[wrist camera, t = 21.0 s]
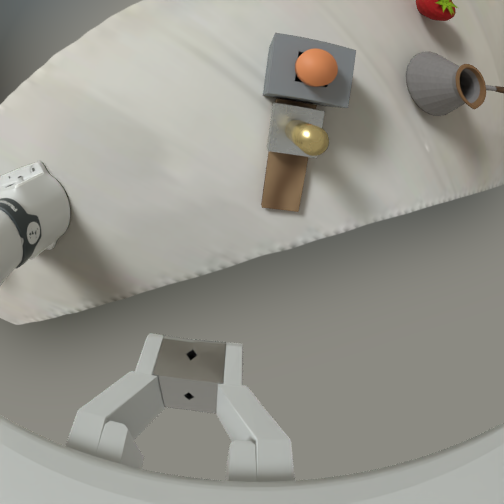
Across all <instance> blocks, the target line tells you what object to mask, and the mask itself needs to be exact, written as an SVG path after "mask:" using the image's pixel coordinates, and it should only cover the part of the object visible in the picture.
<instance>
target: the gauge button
mask: <svg viewBox="0 0 504 504" xmlns="http://www.w3.org/2000/svg"><path fill="white" fill-rule="evenodd" d="M295 72H296V75H295V81H296V82H302V83H304V84H306V85H309V86H313V87H319V86H324V85H327V84H329V83H331V82H332V81H333V80H334V79H335V78H336V76H337V72H338V66H337V62H336V60H335V59H334V57H333V56H332V55H331V54H330V53H328V52H327V51H325V50H322V49H316V48H315V49H309V50H307V51H305V52H304V53H302V54H301V55H300V56H299V57H298V58H297V60H296V63H295Z"/></svg>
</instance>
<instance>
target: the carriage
mask: <svg viewBox="0 0 504 504" xmlns="http://www.w3.org/2000/svg"><path fill="white" fill-rule="evenodd" d="M324 113H325V111H320V110H315V109H309V108H304V107H298V106H292V105H286V104H279V103H273V107H272V114H271V121H270V129H269V136H268V143H267V149H268V151H271V152H278V153H286V154H293V155H299V156H306V157H312V158H317V155H320V154H322V153H323V152H325V150H326V149H327V147H328V144H329V138H328V135H327V133H326V132H325V131H324V130H323V129H322V125H323V119H324Z"/></svg>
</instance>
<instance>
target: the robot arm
mask: <svg viewBox="0 0 504 504" xmlns="http://www.w3.org/2000/svg"><path fill="white" fill-rule="evenodd" d="M34 168H35V170H34ZM69 221H70V206H69V201H68V198H67V195H66V193H65V191H64V189H63V188H62V186H61V185H60V183H59V182H58V181H57V180H56V179H55V178H54V177H52V176H51V175H50V174H49V173H48V172H47V170H46V168H45V166H44V165H43V163H42V162H40V161H37V162H35V163H32V164H29V165H26V166H24V167H21V168H19V169H16V170H14V171H11V172H9V173H6V174H4V175H2V176H0V286H1V284H2V283H3V282H4V280H5V279H6V278H7V277H8V276H9V274H10V273H11V272H12V271H13V270H14V269H15V268H18V267H20V266H21V265H23V264H24V263H25V262H26V261H27V260H28V259H33V258H35V257H36V256H37V255H39V254H40V253H41V252H42V251H44V250H45V249H48V250H51V249H52V248H54V246H55V244H56V242H57V239H58V238H59V237H60V236H62V235H63V234H64V233H65V231H66V230H67V228H68V225H69ZM164 407H168V408H175V409H184V410H192V411H199V412H207V413H216V415H217V417H218V419H219V420H220V422H221V424H222V426H223V427H224V429H225V430H226V432H227V434H228V436H229V437H230V439H231V441H232V443H231V444H230V448H229V453H228V459H227V465H226V475H225V481H222V480H209V479H200V478H191V477H184V476H177V475H171V474H165V473H159V472H154V471H149V470H144V469H142V467H143V460H144V457H143V455H142V453H141V451H140V450H139V448H138V446H137V444H136V443H135V441H134V440H135V439H136V438H137V437H138V436H139V435H140V434H141V433H142V432H143V431H144V430H145V428H146V427H147V426H148V425H149V424H150V423H151V422H152V421H153V420H154V419H155V418H156V417H157V416H158V414H160V413H161V412H162V411H163V410H164ZM0 504H504V423H503V424H500V425H498V426H496V427H494V428H492V429H490V430H488V431H486V432H484V433H482V434H480V435H477V436H475V437H473V438H471V439H468V440H466V441H464V442H461V443H459V444H456V445H454V446H451V447H449V448H446V449H443V450H441V451H438V452H435V453H432V454H429V455H427V456H423V457H420V458H417V459H414V460H410V461H407V462H403V463H399V464H396V465H392V466H388V467H384V468H380V469H375V470H370V471H365V472H360V473H354V474H349V475H342V476H335V477H328V478H320V479H309V480H296V481H295V478H294V468H293V458H292V448H291V440H290V439H289V438H288V436H287V435H286V434H285V433H284V431H283V430H282V429H281V428H280V427H279V425H278V424H277V423H276V422H275V420H274V419H273V418H272V417H271V416H270V414H269V413H268V412H267V410H266V409H265V408H264V407H263V405H262V404H261V403H260V402H259V400H258V399H257V398H256V397H255V395H254V394H253V393H252V391H251V390H250V388H249V387H248V386H243V345H242V344H241V343H228V342H218V341H206V340H197V339H195V340H193V339H186V338H180V337H173V336H166V335H159V334H154V333H149V335H148V336H147V338H146V340H145V343H144V347H143V349H142V352H141V355H140V358H139V361H138V364H137V367H136V370H135V372H133V371H130V372H129V373H128V374H126V375H125V376H123V377H122V378H121V379H119V380H118V381H117V382H116V383H114V384H113V385H111V386H110V387H109V388H107V389H106V390H105V391H103V392H102V393H101V394H99V395H98V396H96V397H95V398H94V399H92V400H91V401H90V402H88V403H87V404H86V405H84V406H83V407H81V408H80V409H79V410H78V412H77V415H76V417H75V420H74V423H73V426H72V428H71V431H70V434H69V437H68V440H67V443H66V446H64V445H62V444H59V443H57V442H54V441H52V440H50V439H47V438H45V437H43V436H41V435H38V434H36V433H34V432H32V431H30V430H28V429H26V428H24V427H22V426H20V425H18V424H16V423H14V422H12V421H10V420H9V419H7V418H5V417H3V416H1V415H0Z"/></svg>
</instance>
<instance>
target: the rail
mask: <svg viewBox="0 0 504 504" xmlns="http://www.w3.org/2000/svg"><path fill="white" fill-rule="evenodd" d="M275 103H279V104H286V105H292V106H298V107H304V108H309V109H315V110H316V106H317V105H313V104H307V103H302V102H296V101H290V100H284V99H276V102H275ZM307 161H308V157H306V156H299V155H293V154H286V153H278V152H271V151H269V153H268V160H267V167H266V174H265V182H264V189H263V196H262V203H261V205H262V208H271V209H280V210H288V211H296V212H298V211H299V205H300V200H301V195H302V189H303V184H304V178H305V173H306V167H307Z"/></svg>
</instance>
